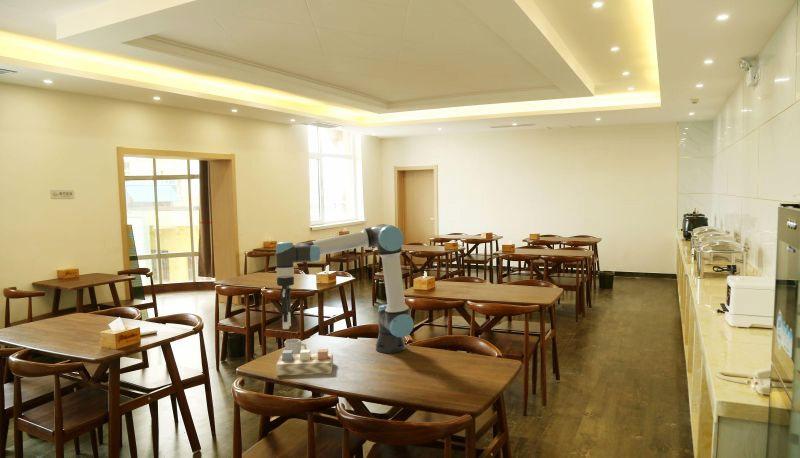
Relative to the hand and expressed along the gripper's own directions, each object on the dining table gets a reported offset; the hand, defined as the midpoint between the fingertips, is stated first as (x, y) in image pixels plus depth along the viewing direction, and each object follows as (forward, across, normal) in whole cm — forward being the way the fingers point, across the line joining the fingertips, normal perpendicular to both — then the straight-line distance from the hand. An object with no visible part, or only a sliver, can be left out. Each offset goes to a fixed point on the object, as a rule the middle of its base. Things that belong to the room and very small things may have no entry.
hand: (286, 327), depth 236 cm
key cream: (+16, 0, +8) cm, 18 cm away
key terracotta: (+16, 0, +16) cm, 23 cm away
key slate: (+16, 0, 0) cm, 16 cm away
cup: (+20, -19, +1) cm, 27 cm away
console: (+20, 0, +8) cm, 21 cm away
